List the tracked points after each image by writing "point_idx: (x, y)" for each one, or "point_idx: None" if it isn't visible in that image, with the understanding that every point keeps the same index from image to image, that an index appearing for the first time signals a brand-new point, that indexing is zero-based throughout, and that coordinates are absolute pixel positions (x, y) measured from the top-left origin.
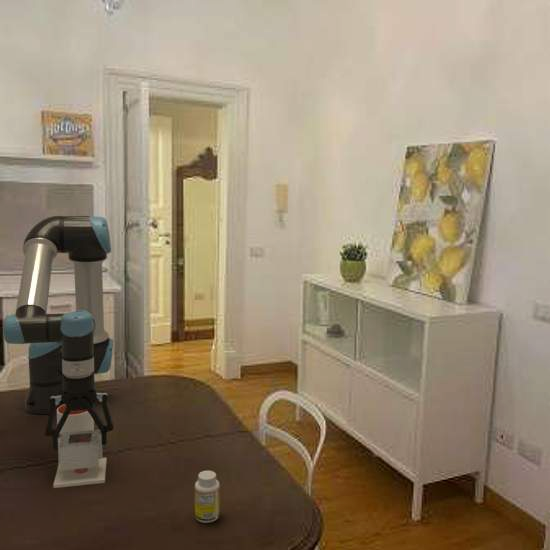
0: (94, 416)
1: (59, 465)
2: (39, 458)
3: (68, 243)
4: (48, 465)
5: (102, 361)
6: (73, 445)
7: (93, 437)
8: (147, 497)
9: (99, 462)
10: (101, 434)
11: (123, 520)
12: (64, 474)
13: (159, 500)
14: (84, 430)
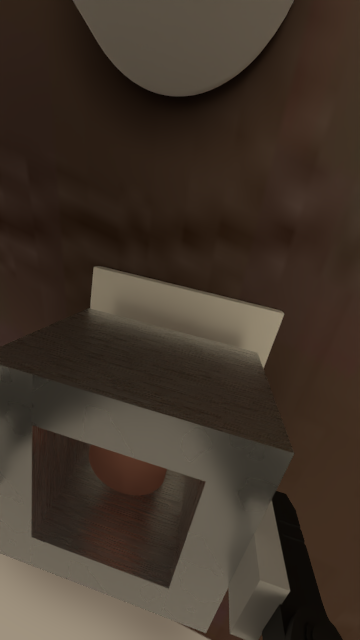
0: None
1: (94, 299)
2: (23, 168)
3: None
4: (62, 253)
5: None
6: (63, 569)
7: (199, 551)
8: (313, 564)
9: (242, 345)
10: (259, 632)
11: (225, 594)
12: None
13: (336, 588)
14: (226, 2)
